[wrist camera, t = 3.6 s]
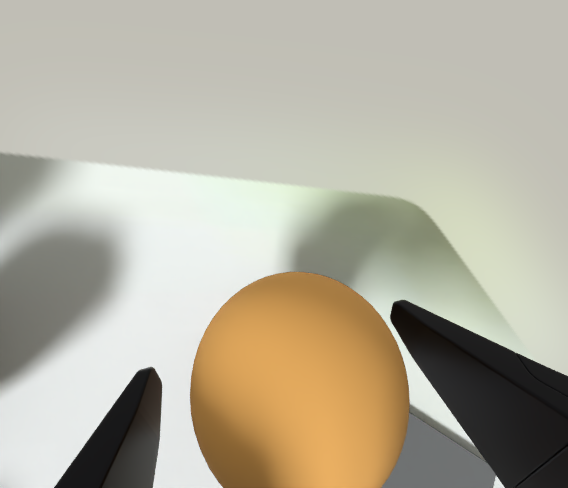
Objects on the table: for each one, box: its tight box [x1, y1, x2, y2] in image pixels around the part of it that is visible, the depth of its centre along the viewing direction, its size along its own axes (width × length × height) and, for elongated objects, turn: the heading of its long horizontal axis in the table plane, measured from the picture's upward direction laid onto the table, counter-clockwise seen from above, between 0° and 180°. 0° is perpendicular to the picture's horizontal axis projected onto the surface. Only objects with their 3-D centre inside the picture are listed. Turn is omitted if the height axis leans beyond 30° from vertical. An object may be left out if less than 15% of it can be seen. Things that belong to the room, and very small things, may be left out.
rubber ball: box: [190, 272, 410, 488], centre depth 8 cm, size 6×6×6 cm
